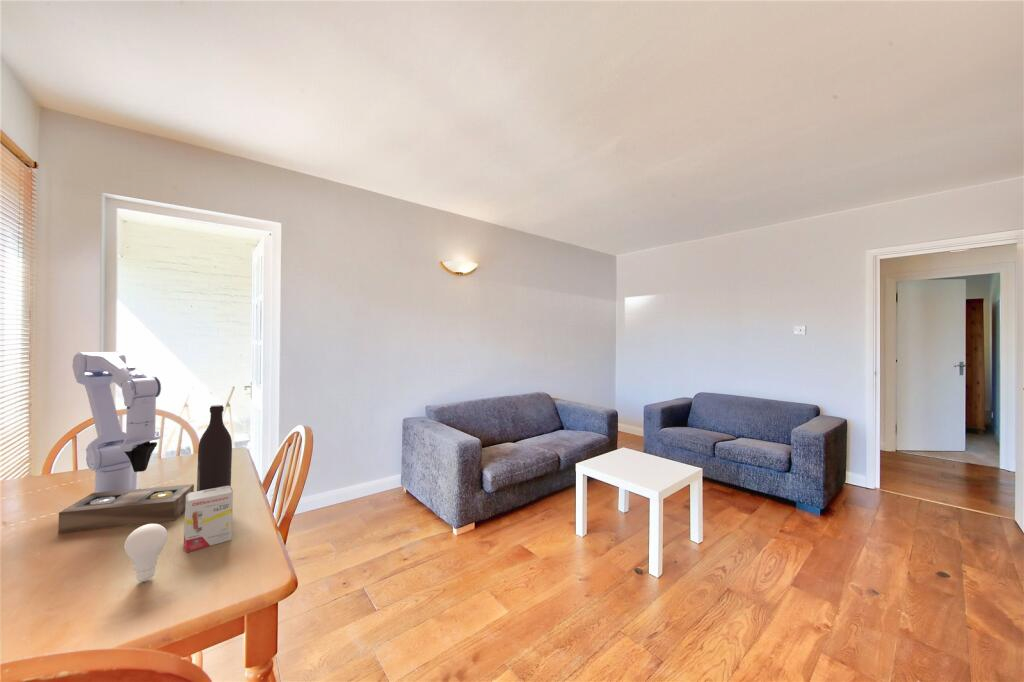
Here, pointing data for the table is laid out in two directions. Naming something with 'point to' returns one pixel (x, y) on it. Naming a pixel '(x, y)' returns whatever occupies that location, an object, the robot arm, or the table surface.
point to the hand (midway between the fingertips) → (140, 470)
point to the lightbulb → (145, 549)
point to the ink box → (208, 517)
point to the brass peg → (161, 494)
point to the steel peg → (102, 500)
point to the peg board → (124, 509)
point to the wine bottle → (214, 453)
